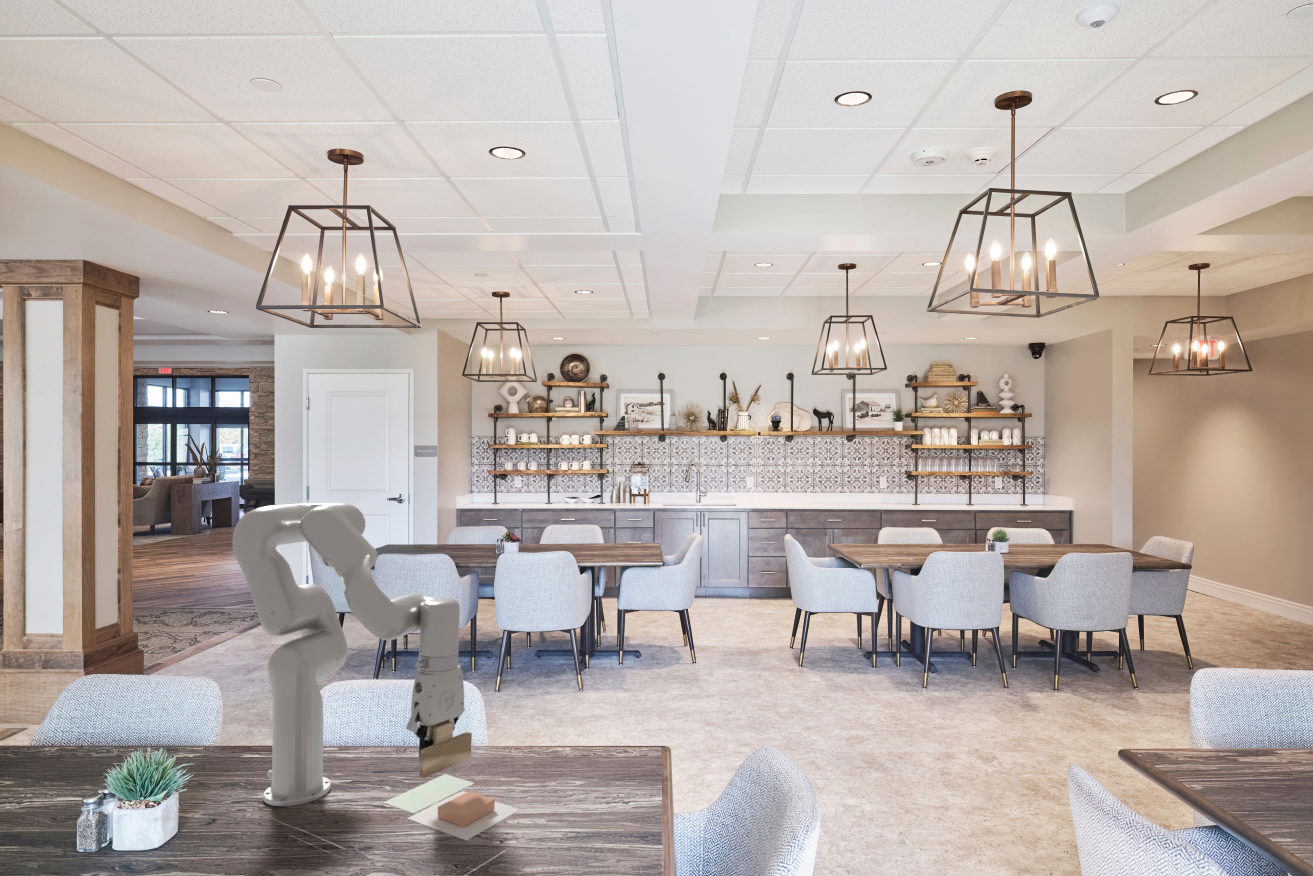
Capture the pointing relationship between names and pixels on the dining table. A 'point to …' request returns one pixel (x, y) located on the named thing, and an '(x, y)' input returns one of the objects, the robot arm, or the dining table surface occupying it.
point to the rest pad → (429, 793)
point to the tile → (466, 808)
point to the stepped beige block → (444, 749)
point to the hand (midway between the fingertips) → (435, 753)
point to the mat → (466, 832)
